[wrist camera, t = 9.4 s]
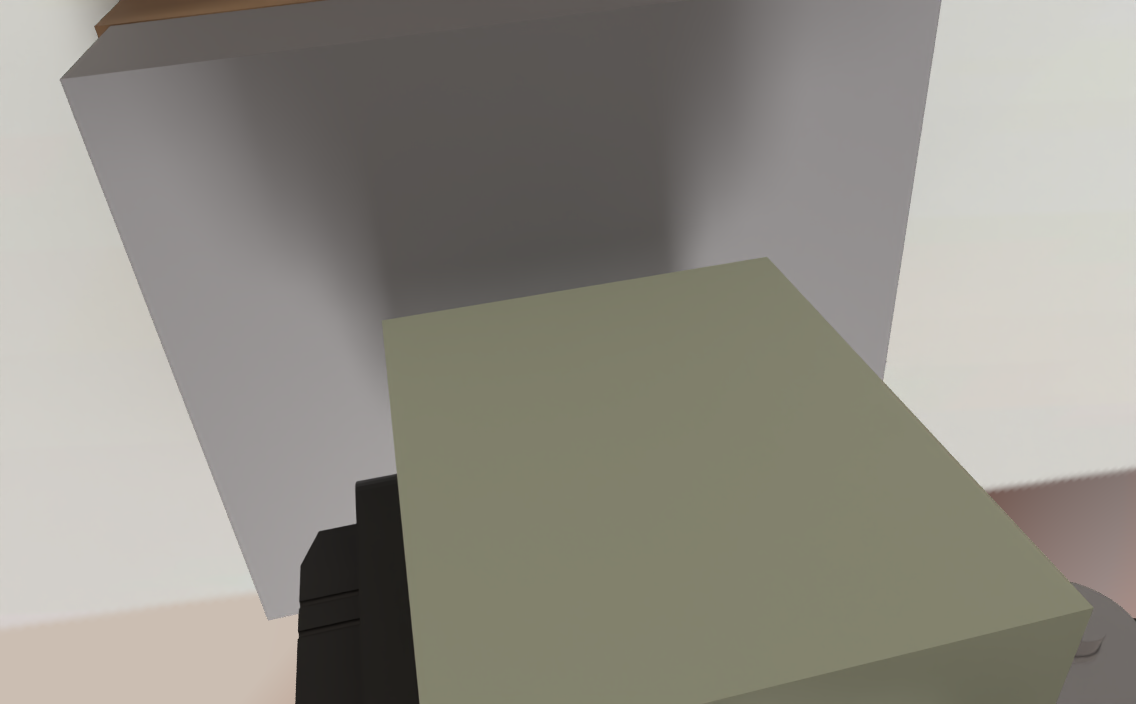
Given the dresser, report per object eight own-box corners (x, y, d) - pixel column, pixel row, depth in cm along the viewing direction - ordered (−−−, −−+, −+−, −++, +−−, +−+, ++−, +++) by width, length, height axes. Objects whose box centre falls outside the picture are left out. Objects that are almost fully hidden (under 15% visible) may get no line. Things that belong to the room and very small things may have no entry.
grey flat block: (846, -63, 15) (945, -33, 13) (802, 406, 21) (866, 489, 18) (110, 25, 13) (60, 79, 11) (276, 511, 19) (267, 620, 16)
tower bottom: (763, -82, 18) (834, -61, 15) (743, 341, 23) (793, 407, 21) (131, -11, 16) (94, 26, 13) (272, 429, 21) (265, 513, 19)
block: (767, 256, 12) (1094, 607, 7) (747, 533, 14) (968, 925, 9) (381, 320, 11) (427, 772, 6) (439, 599, 14) (503, 1064, 9)
